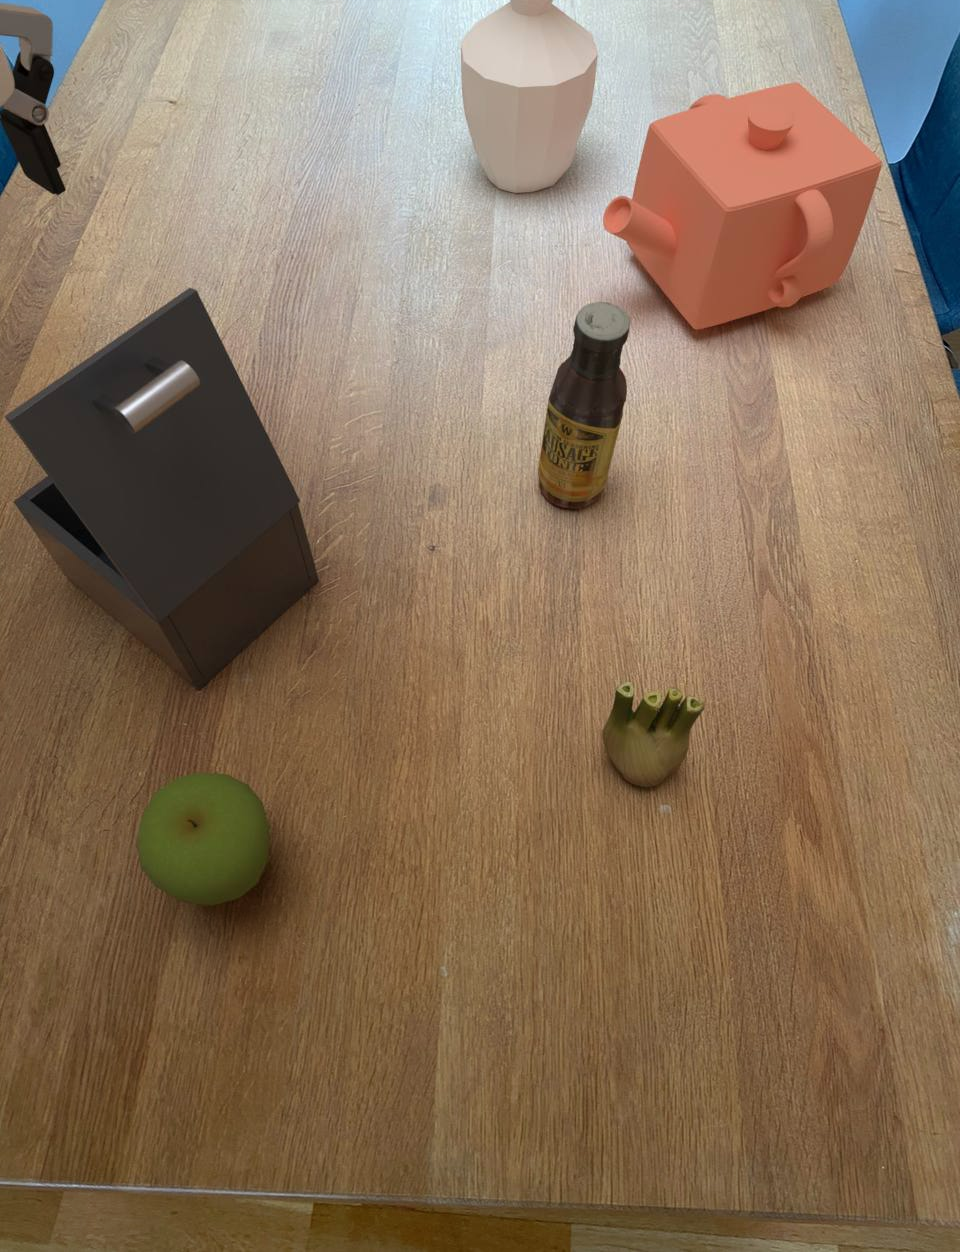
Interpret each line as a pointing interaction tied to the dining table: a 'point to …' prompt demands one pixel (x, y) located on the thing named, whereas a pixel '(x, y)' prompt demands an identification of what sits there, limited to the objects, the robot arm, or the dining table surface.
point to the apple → (204, 838)
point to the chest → (206, 619)
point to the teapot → (746, 202)
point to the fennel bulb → (649, 733)
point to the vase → (527, 92)
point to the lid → (160, 453)
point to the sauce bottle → (585, 409)
